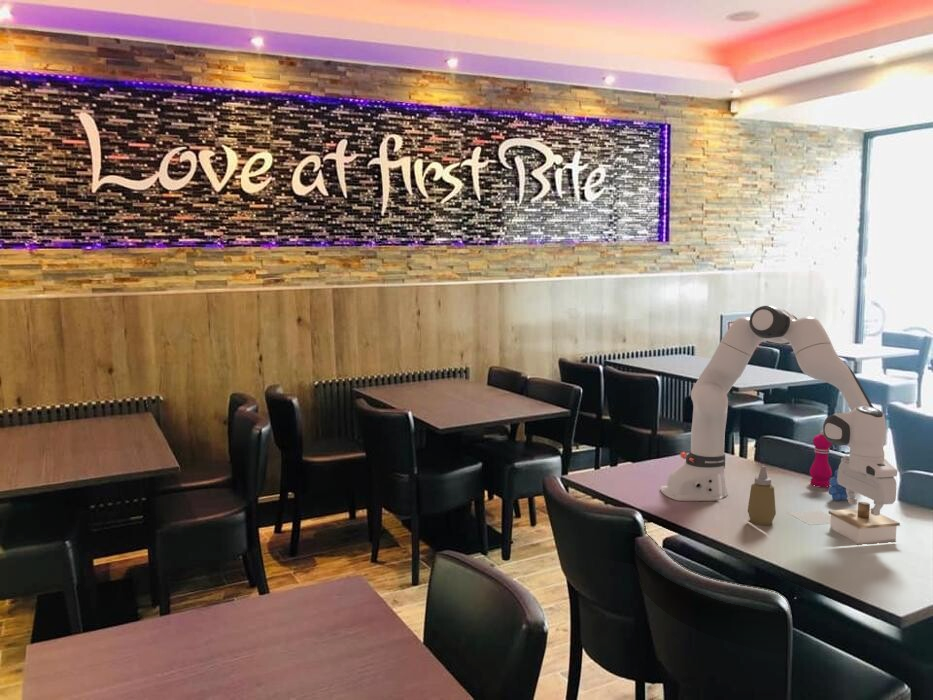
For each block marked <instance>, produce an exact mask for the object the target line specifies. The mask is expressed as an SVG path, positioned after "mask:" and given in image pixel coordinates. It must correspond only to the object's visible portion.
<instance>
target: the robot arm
mask: <svg viewBox="0 0 933 700" xmlns="http://www.w3.org/2000/svg"><path fill="white" fill-rule="evenodd" d="M764 342H766V343H767V344H774V345H782V346H786V345H790V346H791V349H792V350H793V351H792V352H793V353H794V356H795V358H796V362H797V364H798V367H799V368H800V370H801V371H802V373H803V374H805V375H806V376H808V377H810V378H812V379H815V380H817V381H821V382H824V383H827V384H829V385H832V386H833V387H835V388H836V389H838V391H839V392H840V393H841V395H842V396H843V398H844V400H845V402H846V404H847V406H848V407H849V410H848V411H845V412H839V413H834V414H830V415H828V416H827V417H826V418H825V420H824V421H823V426H822V430H823V433H824V436H825V438H826V439H827V440H828V441H829V442H830V443H831V445H834V446H838V447H839V446H840V447H841V446H846V447H848V448H849V455H844V456H842V457H841V459H840V464H839V465H838V469H837V470H838V474H837V482H838V484H839V485H841V486H843V487H845V488H846V493H847V495H848V497H847V499H848V501H847V502H848V504H849V505H853V506H854V505H858V498H856V495H855V493H857V494H859V495H861V496H863V497H866V498H868V499H870V500H872V501H873V504H874V506H873V507H870V509H871V514H873V515H875V516H878V515H880V514H881V510H882V508H883V507H884V505H893V504H894V503H895V502H896V499H897V480H896V478H895V477H897V476H898V470H897V468H895V466H893V465H892V464H891V463H890V462H888V460H887V459H886V458H885V450H884V445H885V442H886V439H887V437H886V434H887V431H886V430H887V427H886V426H887V425H886V424H887V423H886V417H885V413H883V412H882V411H881V410H880V409H878V408H876V407H875V406H873V404H872V402H871V401H870V398H869V397H868V396H867V393H866V391H865V390H864V388H863V387H862V385H861V383H860V381H859V379H858V378H857V376H856V374H855V373H854V371H853V369H851V367H850V366H848V364H846V363H845V362H844V361H843V360H842V358H841V357H839V355H838V353H837V352H836V350H835V347H834V346H833V343H832V341H831V339H830V337H829V335H828V332H827V331H826V329H825V327H824V326H823V325H822V322H820V320H819V319H817V318H816V317H813V316H803V317H800V318H797V317H796V316H795V315H793V314H791V313H790V312H788V311H787V310H785V309H781V308H778V307H776V306H774V305H761V306H758V307H757V308H756V309H754V310H753V311H752V312H751V314H750V317H749V316H740V317H737V318H736V319H735V320H734V322H733V323H732V324H731V325H730V327H729V328H728V329H727V331H725V334H724V335H723V337H722V338H721V340H720V342H719V344H718V346H717V347H716V349H715V352H714V353H713V355H712V357H711V359H710V360H709V362H708V364H707V365H706V366H705V368H704V370H703V371H702V373H701V374H700V376H699V377H698V378H697V380H696V382H695V384H694V385H693V387H692V389H691V392H690V398H691V401H692V405H693V406H692V407H693V408H692V409H693V410H692V422H691V428H690V429H691V431H690V433H691V435H690V451H689V452H688V453H685V451H683V452H682V451H681V453H680V457H681V458H682V459H683V460H685V461H684V463H682V464H681V465H680V466H678V467H677V468H676V469H674V470H673V471H672V472H670V474H669V475H668V479H667V485H661V487H660V491H661V493H662V494H663V495H664V496H665V497H668V498H670V499H672V500H675V501H679V502H681V501H683V502H686V501H687V502H688V501H689V502H690V501H692V502H693V501H694V502H695V501H696V502H697V501H705V502H706V501H709V502H711V501H713V502H714V501H715V502H717V501H720V500H723V498H725V497H727V496H728V494H729V493H728V489H727V483H726V478H725V468H726V453H725V442H726V441H725V439H726V438H725V435H726V434H725V433H726V425H727V418H728V408H729V407H728V406H729V405H728V404H729V399H728V393H729V391H730V390H731V389H732V387H733V386H734V384H735V383H736V382H737V381H738V380H739V378H740V377H741V376H742V375H743V372H744V370H745V369H746V367H747V366H748V363H749V362H750V360H751V358H752V356H753V355H754V352H755V351H756V349H757V348H758V346H759V345H760V344H761V343H764Z"/></svg>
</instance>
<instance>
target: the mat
mask: <svg viewBox="0 0 933 700" xmlns="http://www.w3.org/2000/svg"><path fill="white" fill-rule="evenodd" d="M788 515H791V516H792V517H794V518H796V519H798V520H800V521H801V522H803V523H805V524H807V525H808V526H815V525H817V526H818V525H826V524H829V525H830V524H831V515H830V514H829V515H828V514H827V513H824V512H823V511H821V510H808V511H807V510H806V511H794V512H793V511H792V512H788Z"/></svg>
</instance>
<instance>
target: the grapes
mask: <svg viewBox="0 0 933 700" xmlns="http://www.w3.org/2000/svg"><path fill="white" fill-rule="evenodd" d="M837 474H838V469H836V470H835V471H834V476H831V478H830V479H829V483H830V486H829V488H828V490H827V493H828V494H829V495H830V496H831V499H832V500H833V501H839V500H840V501H841V500H842V501H846V500H847V499H848V495H847V493H846V488H845V487H843V486H841V485H839V484H838V482H837Z"/></svg>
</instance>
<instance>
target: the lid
mask: <svg viewBox="0 0 933 700" xmlns="http://www.w3.org/2000/svg"><path fill="white" fill-rule="evenodd" d="M828 514H829V515H830V516H831V515H833V516H835V517H837V518H838V519H840V520H842V521H844V522H846V523H848V524H850V525H852V526H854V527H856V528H858V529H865V528H877V527H889V526H897V527H900V524H901V523H900V522H899V521H896V520H894V519H892V518H890V517H887V516H886V515H883V514H881V513H880V515H878V516H875V515H873V514H871V503H869V502H866V501H857V508H847V509H836V510H834V509H833V510H828Z"/></svg>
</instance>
